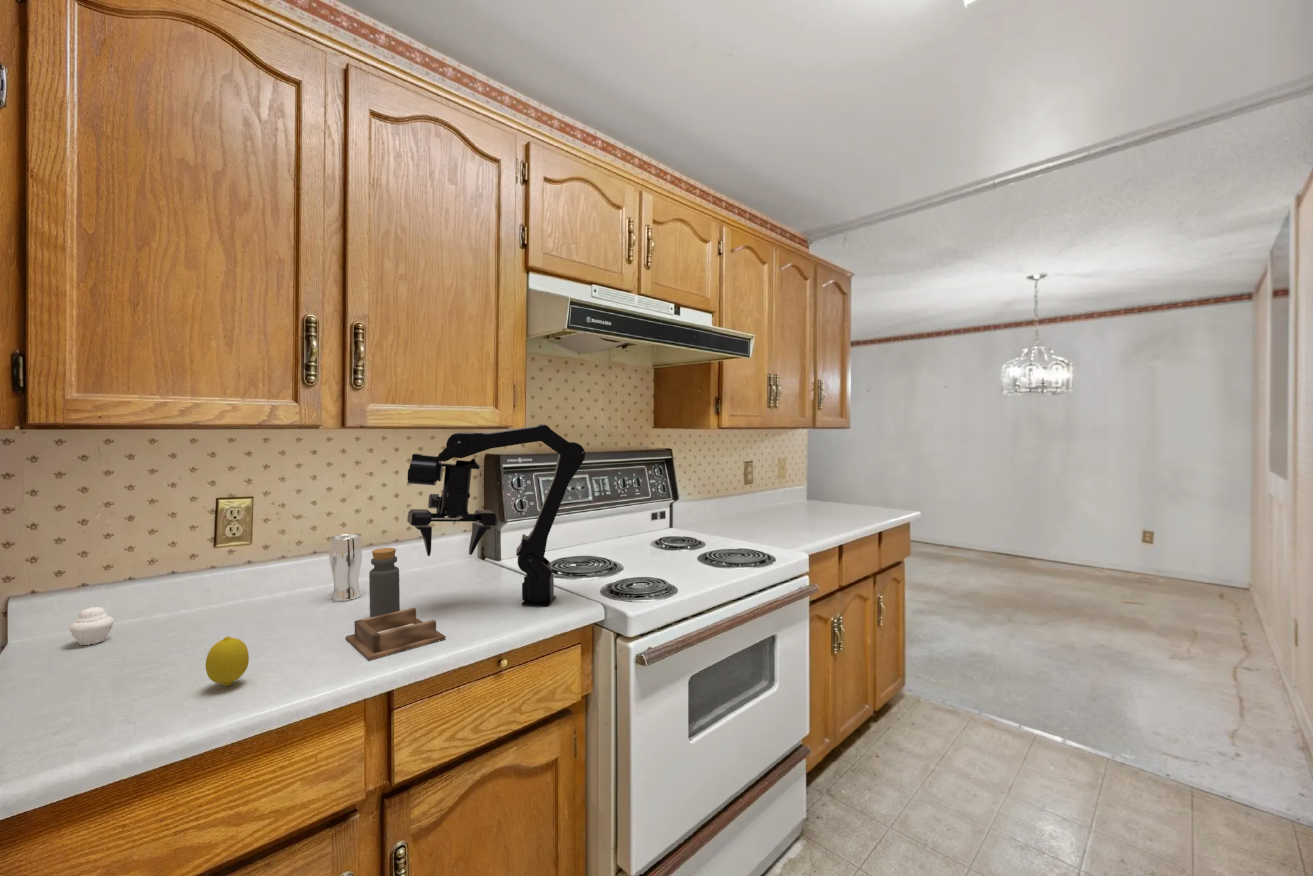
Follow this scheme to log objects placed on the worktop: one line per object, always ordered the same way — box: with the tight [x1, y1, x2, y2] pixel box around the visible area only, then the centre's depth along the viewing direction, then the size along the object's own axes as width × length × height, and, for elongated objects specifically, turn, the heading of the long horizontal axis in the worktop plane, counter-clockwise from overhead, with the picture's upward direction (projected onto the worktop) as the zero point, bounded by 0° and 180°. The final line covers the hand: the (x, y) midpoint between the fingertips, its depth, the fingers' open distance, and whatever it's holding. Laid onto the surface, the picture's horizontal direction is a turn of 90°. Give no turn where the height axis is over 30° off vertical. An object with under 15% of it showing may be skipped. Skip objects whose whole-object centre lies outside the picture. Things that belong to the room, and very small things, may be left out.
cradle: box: [345, 607, 447, 661], centre depth 109 cm, size 14×14×4 cm
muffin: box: [68, 606, 115, 647], centre depth 108 cm, size 6×6×7 cm
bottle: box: [368, 547, 401, 618], centre depth 121 cm, size 6×6×15 cm
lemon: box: [205, 636, 250, 687], centre depth 90 cm, size 6×6×8 cm
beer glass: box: [328, 533, 363, 602], centre depth 136 cm, size 7×7×15 cm
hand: (449, 555), depth 127 cm, fingers open, 9 cm apart
